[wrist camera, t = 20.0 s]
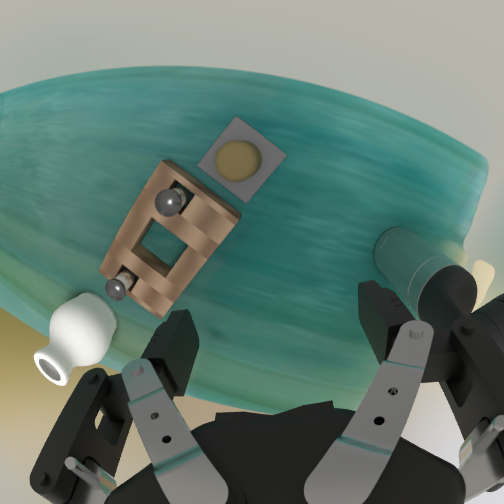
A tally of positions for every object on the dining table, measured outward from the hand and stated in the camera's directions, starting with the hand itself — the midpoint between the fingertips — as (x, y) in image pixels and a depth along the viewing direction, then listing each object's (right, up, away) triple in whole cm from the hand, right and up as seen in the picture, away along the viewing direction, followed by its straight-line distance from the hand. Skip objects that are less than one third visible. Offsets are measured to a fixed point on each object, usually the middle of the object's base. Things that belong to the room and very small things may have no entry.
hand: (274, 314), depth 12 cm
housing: (-16, +5, +34) cm, 38 cm away
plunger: (-12, +12, +31) cm, 35 cm away
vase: (-37, -12, +42) cm, 57 cm away
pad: (-3, +17, +29) cm, 34 cm away
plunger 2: (-23, -1, +36) cm, 43 cm away
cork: (-2, +17, +29) cm, 33 cm away
